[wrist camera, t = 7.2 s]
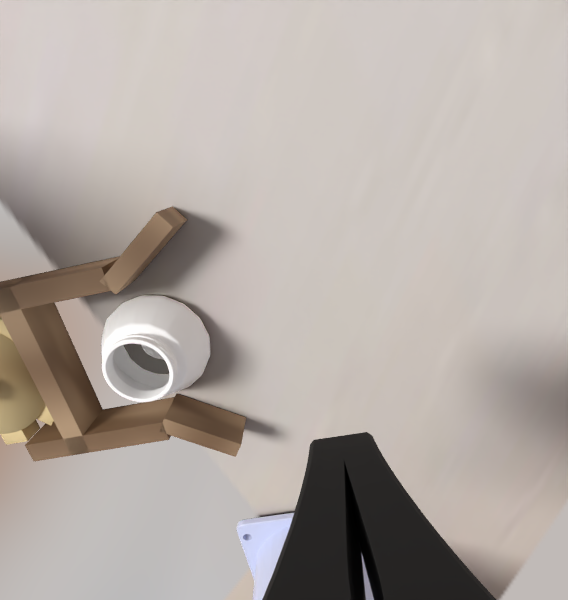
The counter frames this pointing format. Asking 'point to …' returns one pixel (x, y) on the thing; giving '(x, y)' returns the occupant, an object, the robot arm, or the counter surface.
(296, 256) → the counter surface
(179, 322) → the white jar
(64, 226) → the counter surface
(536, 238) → the counter surface
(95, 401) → the gear station
